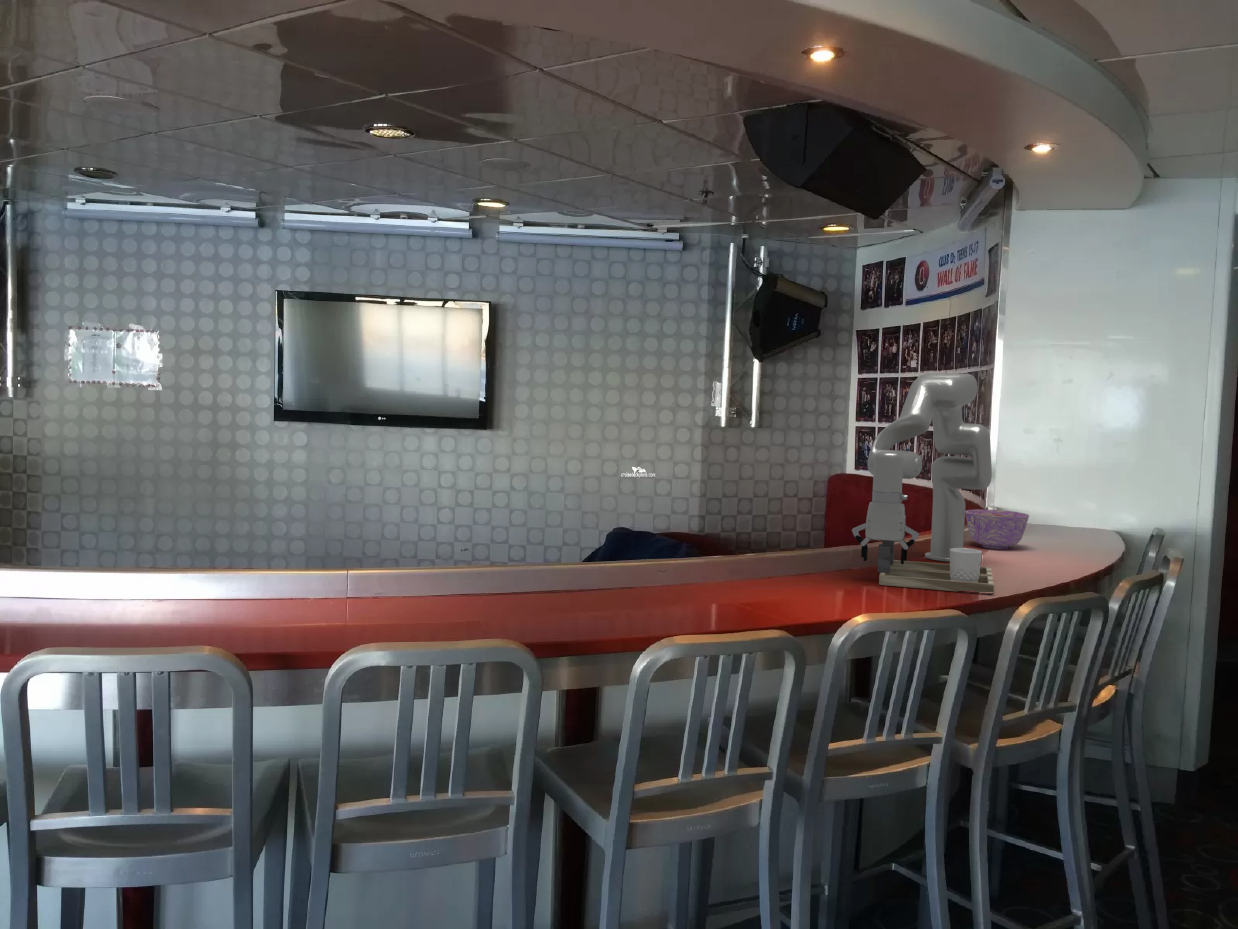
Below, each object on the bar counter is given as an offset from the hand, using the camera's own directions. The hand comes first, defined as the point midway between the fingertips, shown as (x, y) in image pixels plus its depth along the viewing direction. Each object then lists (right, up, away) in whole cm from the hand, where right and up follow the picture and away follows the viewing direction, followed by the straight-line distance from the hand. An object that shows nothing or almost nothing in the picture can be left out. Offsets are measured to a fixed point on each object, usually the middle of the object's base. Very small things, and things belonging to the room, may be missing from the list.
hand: (883, 562), depth 260 cm
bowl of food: (+55, -2, +66) cm, 86 cm away
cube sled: (+17, -5, +9) cm, 20 cm away
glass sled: (+13, -6, -4) cm, 14 cm away
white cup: (+19, -6, -6) cm, 21 cm away
